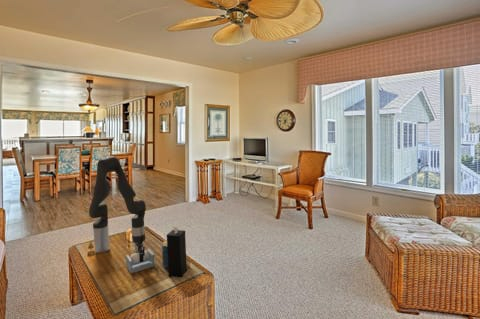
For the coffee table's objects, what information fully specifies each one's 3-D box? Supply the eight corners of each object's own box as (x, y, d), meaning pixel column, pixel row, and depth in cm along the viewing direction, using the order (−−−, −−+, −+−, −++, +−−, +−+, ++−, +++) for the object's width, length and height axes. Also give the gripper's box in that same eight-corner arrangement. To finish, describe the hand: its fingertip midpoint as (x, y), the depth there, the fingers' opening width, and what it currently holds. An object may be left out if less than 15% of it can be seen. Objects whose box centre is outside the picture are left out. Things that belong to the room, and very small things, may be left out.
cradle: (126, 266, 160) (125, 255, 159) (149, 259, 168) (148, 248, 168) (130, 273, 152) (129, 261, 151) (154, 266, 160) (153, 254, 160)
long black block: (181, 277, 147) (179, 230, 144) (168, 276, 148) (166, 229, 145) (186, 270, 155) (185, 225, 151) (174, 269, 156) (172, 224, 153)
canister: (170, 257, 170) (169, 231, 169) (187, 260, 166) (186, 234, 164) (158, 267, 158) (156, 239, 156) (176, 271, 154) (175, 242, 152)
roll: (133, 262, 154) (131, 253, 156) (131, 265, 158) (129, 255, 160) (149, 258, 159) (147, 249, 161) (147, 260, 163) (145, 251, 165)
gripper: (129, 231, 161) (130, 256, 163) (135, 238, 150) (137, 266, 152) (141, 228, 166) (142, 253, 168) (148, 235, 154) (149, 262, 156)
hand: (140, 259), depth 160 cm, fingers closed on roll, 5 cm apart
